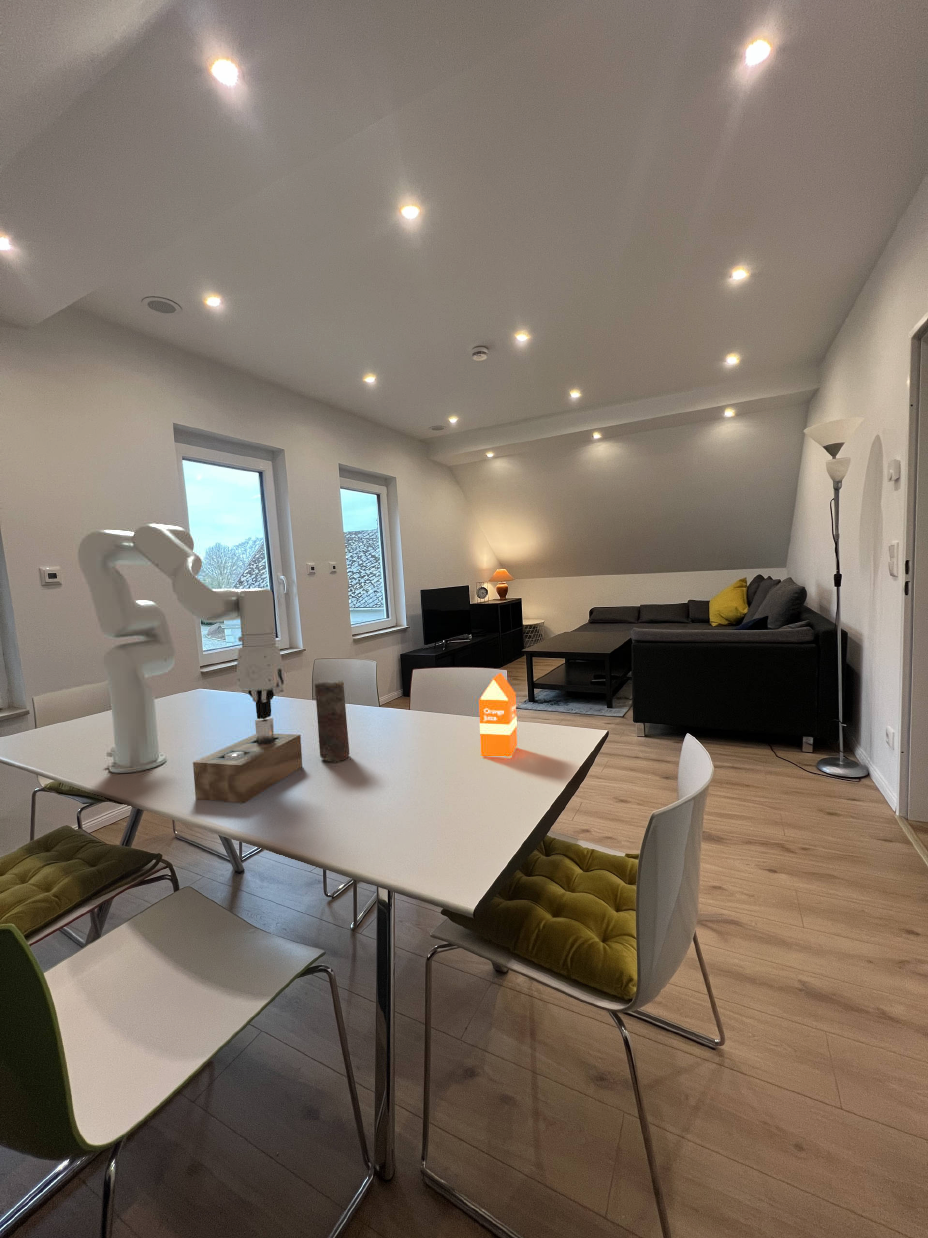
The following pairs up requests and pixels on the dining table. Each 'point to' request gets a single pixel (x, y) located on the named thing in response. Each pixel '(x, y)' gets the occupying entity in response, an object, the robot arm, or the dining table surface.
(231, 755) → the peg
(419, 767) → the dining table surface
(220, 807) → the dining table surface
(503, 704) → the orange juice
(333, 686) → the weathered brick
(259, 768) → the walnut block
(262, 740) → the peg
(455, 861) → the dining table surface
